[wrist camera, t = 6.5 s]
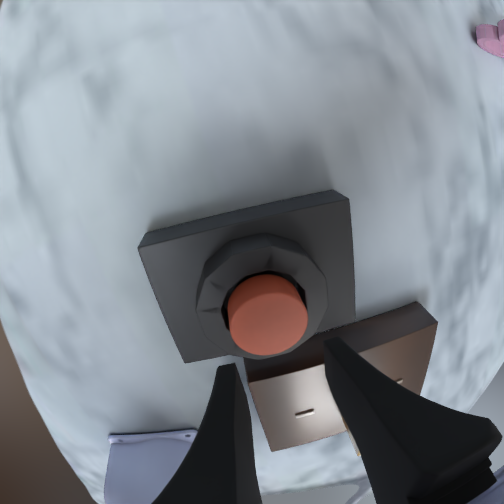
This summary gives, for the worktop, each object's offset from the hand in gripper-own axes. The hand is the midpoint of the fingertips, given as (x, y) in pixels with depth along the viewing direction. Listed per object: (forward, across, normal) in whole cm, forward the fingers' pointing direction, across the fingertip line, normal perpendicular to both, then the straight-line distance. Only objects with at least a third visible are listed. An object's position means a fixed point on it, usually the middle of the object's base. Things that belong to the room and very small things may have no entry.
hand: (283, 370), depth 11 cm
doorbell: (+8, 0, 0) cm, 8 cm away
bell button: (+5, 0, 0) cm, 5 cm away
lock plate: (+8, -5, +11) cm, 15 cm away
